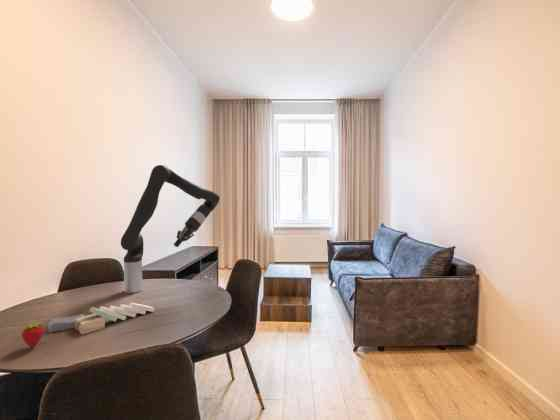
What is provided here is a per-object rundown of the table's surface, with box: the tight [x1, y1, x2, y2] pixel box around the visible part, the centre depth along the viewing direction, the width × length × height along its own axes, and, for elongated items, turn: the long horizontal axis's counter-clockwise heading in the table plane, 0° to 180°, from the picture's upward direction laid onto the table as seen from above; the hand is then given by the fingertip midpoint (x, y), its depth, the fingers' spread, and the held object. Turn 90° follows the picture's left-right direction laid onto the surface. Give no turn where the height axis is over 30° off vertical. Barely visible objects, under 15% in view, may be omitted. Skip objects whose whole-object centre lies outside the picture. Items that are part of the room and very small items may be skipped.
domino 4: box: [119, 303, 147, 315], centre depth 133 cm, size 2×5×10 cm
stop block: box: [74, 313, 106, 335], centre depth 120 cm, size 8×8×4 cm
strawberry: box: [21, 319, 45, 348], centre depth 104 cm, size 6×8×10 cm
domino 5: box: [128, 301, 156, 313], centre depth 136 cm, size 2×5×10 cm
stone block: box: [47, 313, 85, 333], centre depth 123 cm, size 12×5×10 cm
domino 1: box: [88, 306, 118, 323], centre depth 124 cm, size 2×5×10 cm
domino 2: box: [98, 305, 127, 321], centre depth 127 cm, size 2×5×10 cm
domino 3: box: [108, 305, 137, 318], centre depth 130 cm, size 2×5×10 cm
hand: (175, 246), depth 155 cm, fingers closed
